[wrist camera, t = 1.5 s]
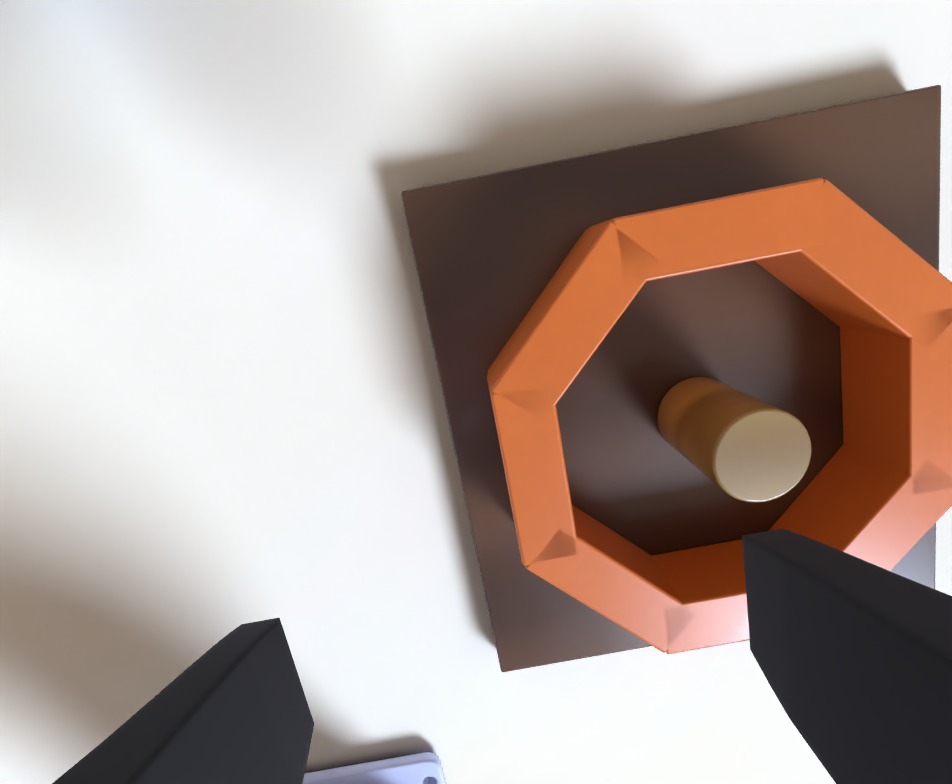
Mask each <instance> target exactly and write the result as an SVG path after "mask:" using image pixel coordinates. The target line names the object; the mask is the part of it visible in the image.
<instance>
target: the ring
mask: <svg viewBox="0 0 952 784" xmlns="http://www.w3.org/2000/svg"><path fill="white" fill-rule="evenodd" d="M749 261H755V262H756V263H758V264H759V265H760V266H762V267H763V268H764V269H765V270H767V271H768V272H769V273H771V274H772V275H773V276H774V277H776V278H777V279H778V280H780V281H781V282H782V283H784V284H785V285H786V286H787V287H789V288H790V289H791V290H793V291H794V292H795V293H796V294H798V295H799V296H800V297H802V298H803V299H804V300H806V301H807V302H808V303H809V304H811V305H812V306H813V307H815V308H816V309H817V310H818V311H820V312H821V313H822V314H824V315H825V316H826V317H827V318H829V319H830V320H831V321H833V322H834V323H835V324H837V325H838V326H839V327H840V347H841V379H842V412H843V445H842V447H841V448H840V449H839V450H838V451H837V452H836V453H835V455H834V456H833V457H832V458H831V459H830V460H829V462H828V463H827V464H826V465H825V466H824V467H823V468H822V470H821V471H820V472H819V473H818V474H817V475H816V477H815V478H814V479H813V480H812V481H811V482H810V483H809V485H808V486H807V487H806V488H805V489H804V490H803V492H802V493H801V494H800V495H799V496H798V497H797V498H796V500H795V501H794V502H793V503H792V504H791V505H790V507H789V508H788V509H787V510H786V511H785V512H784V513H783V515H782V516H781V517H780V518H779V519H778V520H777V521H776V523H775V524H774V525H773V526H772V527H771V528H770V530H769V531H771V530H777V529H786V530H789V531H791V532H794V533H797V534H800V535H803V536H805V537H808V538H811V539H813V540H816V541H818V542H821V543H823V544H826V545H828V546H831V547H833V548H835V549H838V550H840V551H843V552H845V553H848V554H850V555H852V556H855V557H857V558H860V559H862V560H864V561H867V562H869V563H872V564H874V565H876V566H879V567H881V568H884V569H886V570H888V571H891V570H892V569H893V568H894V566H895V565H896V564H897V563H898V562H899V561H900V560H901V559H902V558H903V557H904V556H905V555H906V554H907V553H908V552H909V550H910V549H911V548H912V547H913V546H914V545H915V544H916V543H917V542H918V541H919V540H920V539H921V538H922V537H923V536H924V534H925V533H926V532H927V531H928V530H929V529H930V528H931V527H932V526H933V525H934V524H935V523H936V522H937V521H938V520H939V518H940V517H941V516H942V515H943V514H944V513H945V512H946V511H947V510H948V509H949V508H950V507H951V506H952V282H951V281H949V280H948V279H947V278H946V277H944V276H943V275H942V274H941V273H940V272H938V271H937V270H936V269H935V268H934V267H932V266H931V265H930V264H929V263H927V262H926V261H925V260H924V259H923V258H921V257H920V256H919V255H918V254H917V253H915V252H914V251H913V250H912V249H910V248H909V247H908V246H907V245H906V244H904V243H903V242H902V241H901V240H900V239H898V238H897V237H896V236H895V235H894V234H892V233H891V232H890V231H889V230H887V229H886V228H885V227H884V226H883V225H881V224H880V223H879V222H878V221H877V220H875V219H874V218H873V217H872V216H870V215H869V214H868V213H867V212H866V211H864V210H863V209H862V208H861V207H860V206H858V205H857V204H856V203H855V202H854V201H852V200H851V199H850V198H849V197H847V196H846V195H845V194H844V193H843V192H841V191H840V190H839V189H838V188H837V187H835V186H834V185H833V184H832V183H830V182H829V181H828V180H826V179H824V180H823V179H822V178H817V179H812V180H807V181H802V182H797V183H791V184H786V185H781V186H776V187H771V188H766V189H761V190H756V191H751V192H746V193H740V194H735V195H730V196H725V197H720V198H715V199H710V200H705V201H700V202H694V203H689V204H684V205H679V206H674V207H669V208H664V209H659V210H654V211H648V212H643V213H638V214H633V215H628V216H623V217H618V218H614V219H611V220H608V221H605V222H602V223H599V224H596V225H593V226H590V227H589V228H588V229H586V230H585V231H584V233H583V234H582V235H581V237H580V238H579V240H578V241H577V243H576V244H575V245H574V247H573V248H572V250H571V251H570V253H569V254H568V256H567V257H566V258H565V260H564V261H563V263H562V264H561V266H560V267H559V268H558V270H557V271H556V273H555V274H554V276H553V277H552V279H551V280H550V281H549V283H548V284H547V286H546V287H545V289H544V290H543V292H542V293H541V294H540V296H539V297H538V299H537V300H536V302H535V303H534V304H533V306H532V307H531V309H530V310H529V312H528V313H527V315H526V316H525V317H524V319H523V320H522V322H521V323H520V325H519V326H518V327H517V329H516V330H515V332H514V333H513V335H512V336H511V338H510V339H509V340H508V342H507V343H506V345H505V346H504V348H503V349H502V350H501V352H500V353H499V355H498V356H497V358H496V359H495V361H494V362H493V363H492V365H491V366H490V368H489V369H488V374H487V381H488V386H489V392H490V397H491V402H492V408H493V413H494V418H495V424H496V429H497V434H498V439H499V445H500V450H501V455H502V461H503V466H504V471H505V476H506V482H507V487H508V492H509V498H510V503H511V508H512V514H513V519H514V524H515V529H516V534H517V540H518V545H519V550H520V555H521V560H522V563H523V565H525V567H526V569H528V570H529V571H531V572H532V573H534V574H536V575H537V576H539V577H541V578H542V579H544V580H546V581H547V582H549V583H550V584H552V585H554V586H555V587H557V588H559V589H560V590H562V591H564V592H565V593H567V594H568V595H570V596H572V597H573V598H575V599H577V600H578V601H580V602H582V603H583V604H585V605H587V606H588V607H590V608H591V609H593V610H595V611H596V612H598V613H600V614H601V615H603V616H605V617H606V618H608V619H609V620H611V621H613V622H614V623H616V624H618V625H619V626H621V627H623V628H624V629H626V630H627V631H629V632H631V633H632V634H634V635H636V636H637V637H639V638H641V639H642V640H644V641H645V642H647V643H649V644H650V645H652V646H654V647H655V648H657V649H659V650H660V651H662V652H666V653H667V654H672V653H677V652H683V651H689V650H694V649H700V648H706V647H711V646H717V645H723V644H728V643H734V642H740V641H745V640H750V637H749V624H748V610H747V596H746V583H745V569H744V556H743V542H742V539H740V540H734V541H729V542H723V543H718V544H712V545H707V546H701V547H696V548H690V549H685V550H679V551H674V552H668V553H663V554H657V555H650V554H648V553H647V552H645V551H644V550H642V549H641V548H639V547H637V546H636V545H634V544H633V543H631V542H630V541H628V540H627V539H625V538H623V537H622V536H620V535H619V534H617V533H616V532H614V531H613V530H611V529H609V528H608V527H606V526H605V525H603V524H602V523H600V522H599V521H597V520H595V519H594V518H592V517H591V516H589V515H588V514H586V513H584V512H583V511H581V510H580V509H578V508H577V507H575V506H574V505H572V503H571V497H570V490H569V484H568V478H567V472H566V465H565V459H564V453H563V447H562V440H561V434H560V428H559V422H558V415H557V409H556V404H557V402H558V401H559V399H560V398H561V397H562V395H563V394H564V393H565V391H566V390H567V389H568V387H569V386H570V385H571V383H572V382H573V380H574V379H575V378H576V376H577V375H578V374H579V372H580V371H581V370H582V368H583V367H584V365H585V364H586V363H587V361H588V360H589V359H590V357H591V356H592V355H593V353H594V352H595V350H596V349H597V348H598V346H599V345H600V344H601V342H602V341H603V340H604V338H605V337H606V335H607V334H608V333H609V331H610V330H611V329H612V327H613V326H614V325H615V323H616V322H617V320H618V319H619V318H620V316H621V315H622V314H623V312H624V311H625V310H626V308H627V307H628V305H629V304H630V303H631V301H632V300H633V299H634V297H635V296H636V295H637V293H638V292H639V290H640V289H641V288H642V286H643V285H644V284H645V282H646V281H651V280H656V279H661V278H666V277H672V276H677V275H682V274H687V273H692V272H698V271H703V270H708V269H713V268H718V267H723V266H729V265H734V264H739V263H744V262H749Z"/></svg>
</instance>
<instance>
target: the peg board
mask: <svg viewBox="0 0 952 784" xmlns="http://www.w3.org/2000/svg"><path fill="white" fill-rule="evenodd" d="M940 128H941V86H940V85H935V86H930V87H925V88H920V89H915V90H910V91H905V92H900V93H895V94H890V95H885V96H880V97H875V98H870V99H865V100H860V101H855V102H850V103H845V104H840V105H835V106H830V107H825V108H820V109H815V110H810V111H805V112H800V113H794V114H789V115H784V116H779V117H774V118H769V119H764V120H759V121H754V122H749V123H744V124H739V125H734V126H729V127H724V128H719V129H714V130H709V131H704V132H699V133H694V134H689V135H684V136H679V137H674V138H669V139H664V140H659V141H654V142H649V143H644V144H639V145H634V146H628V147H623V148H618V149H613V150H608V151H603V152H598V153H593V154H588V155H583V156H578V157H573V158H568V159H563V160H558V161H553V162H548V163H543V164H538V165H533V166H528V167H523V168H518V169H513V170H508V171H503V172H498V173H493V174H488V175H483V176H478V177H473V178H468V179H462V180H457V181H452V182H447V183H442V184H437V185H432V186H427V187H422V188H417V189H412V190H407V191H403V192H401V196H402V201H403V206H404V210H405V215H406V220H407V225H408V230H409V234H410V239H411V244H412V249H413V253H414V258H415V263H416V268H417V272H418V277H419V282H420V287H421V291H422V296H423V301H424V306H425V311H426V315H427V320H428V325H429V330H430V334H431V339H432V344H433V349H434V353H435V358H436V363H437V368H438V373H439V377H440V382H441V387H442V392H443V396H444V401H445V406H446V411H447V415H448V420H449V425H450V430H451V434H452V439H453V444H454V449H455V454H456V458H457V463H458V468H459V473H460V477H461V482H462V487H463V492H464V496H465V501H466V506H467V511H468V515H469V520H470V525H471V530H472V535H473V539H474V544H475V549H476V554H477V558H478V563H479V568H480V573H481V577H482V582H483V587H484V592H485V596H486V601H487V606H488V611H489V616H490V620H491V625H492V630H493V635H494V639H495V644H496V649H497V654H498V658H499V663H500V668H501V671H502V672H507V671H513V670H518V669H524V668H530V667H535V666H541V665H547V664H552V663H558V662H564V661H569V660H575V659H581V658H586V657H592V656H598V655H603V654H609V653H615V652H620V651H626V650H631V649H637V648H643V647H648V646H652V645H650V644H649V643H647V642H645V641H644V640H642V639H641V638H639V637H637V636H636V635H634V634H632V633H631V632H629V631H627V630H626V629H624V628H623V627H621V626H619V625H618V624H616V623H614V622H613V621H611V620H609V619H608V618H606V617H605V616H603V615H601V614H600V613H598V612H596V611H595V610H593V609H591V608H590V607H588V606H587V605H585V604H583V603H582V602H580V601H578V600H577V599H575V598H573V597H572V596H570V595H568V594H567V593H565V592H564V591H562V590H560V589H559V588H557V587H555V586H554V585H552V584H550V583H549V582H547V581H546V580H544V579H542V578H541V577H539V576H537V575H536V574H534V573H532V572H531V571H529V570H528V569H526V567H525V565H523V563H522V560H521V555H520V550H519V545H518V540H517V534H516V529H515V524H514V519H513V514H512V508H511V503H510V498H509V492H508V487H507V482H506V476H505V471H504V466H503V461H502V455H501V450H500V445H499V439H498V434H497V429H496V424H495V418H494V413H493V408H492V402H491V397H490V392H489V386H488V381H487V374H488V369H489V368H490V366H491V365H492V363H493V362H494V361H495V359H496V358H497V356H498V355H499V353H500V352H501V350H502V349H503V348H504V346H505V345H506V343H507V342H508V340H509V339H510V338H511V336H512V335H513V333H514V332H515V330H516V329H517V327H518V326H519V325H520V323H521V322H522V320H523V319H524V317H525V316H526V315H527V313H528V312H529V310H530V309H531V307H532V306H533V304H534V303H535V302H536V300H537V299H538V297H539V296H540V294H541V293H542V292H543V290H544V289H545V287H546V286H547V284H548V283H549V281H550V280H551V279H552V277H553V276H554V274H555V273H556V271H557V270H558V268H559V267H560V266H561V264H562V263H563V261H564V260H565V258H566V257H567V256H568V254H569V253H570V251H571V250H572V248H573V247H574V245H575V244H576V243H577V241H578V240H579V238H580V237H581V235H582V234H583V233H584V231H585V230H586V229H588V228H589V227H590V226H593V225H596V224H599V223H602V222H605V221H608V220H611V219H614V218H618V217H623V216H628V215H633V214H638V213H643V212H648V211H654V210H659V209H664V208H669V207H674V206H679V205H684V204H689V203H694V202H700V201H705V200H710V199H715V198H720V197H725V196H730V195H735V194H740V193H746V192H751V191H756V190H761V189H766V188H771V187H776V186H781V185H786V184H791V183H797V182H802V181H807V180H812V179H817V178H822V179H823V180H824V179H826V180H828V181H829V182H830V183H832V184H833V185H834V186H835V187H837V188H838V189H839V190H840V191H841V192H843V193H844V194H845V195H846V196H847V197H849V198H850V199H851V200H852V201H854V202H855V203H856V204H857V205H858V206H860V207H861V208H862V209H863V210H864V211H866V212H867V213H868V214H869V215H870V216H872V217H873V218H874V219H875V220H877V221H878V222H879V223H880V224H881V225H883V226H884V227H885V228H886V229H887V230H889V231H890V232H891V233H892V234H894V235H895V236H896V237H897V238H898V239H900V240H901V241H902V242H903V243H904V244H906V245H907V246H908V247H909V248H910V249H912V250H913V251H914V252H915V253H917V254H918V255H919V256H920V257H921V258H923V259H924V260H925V261H926V262H927V263H929V264H930V265H931V266H932V267H934V268H935V269H936V270H937V271H938V272H939V211H940ZM556 409H557V415H558V422H559V428H560V434H561V440H562V447H563V453H564V459H565V465H566V472H567V478H568V484H569V490H570V497H571V503H572V505H574V506H575V507H577V508H578V509H580V510H581V511H583V512H584V513H586V514H588V515H589V516H591V517H592V518H594V519H595V520H597V521H599V522H600V523H602V524H603V525H605V526H606V527H608V528H609V529H611V530H613V531H614V532H616V533H617V534H619V535H620V536H622V537H623V538H625V539H627V540H628V541H630V542H631V543H633V544H634V545H636V546H637V547H639V548H641V549H642V550H644V551H645V552H647V553H648V554H650V555H657V554H663V553H668V552H674V551H679V550H685V549H690V548H696V547H701V546H707V545H712V544H718V543H723V542H729V541H734V540H740V539H742V536H743V535H749V534H754V533H760V532H766V531H769V530H770V528H771V527H772V526H773V525H774V524H775V523H776V521H777V520H778V519H779V518H780V517H781V516H782V515H783V513H784V512H785V511H786V510H787V509H788V508H789V507H790V505H791V504H792V503H793V502H794V501H795V500H796V498H797V497H798V496H799V495H800V494H801V493H802V492H803V490H804V489H805V488H806V487H807V486H808V485H809V483H810V482H811V481H812V480H813V479H814V478H815V477H816V475H817V474H818V473H819V472H820V471H821V470H822V468H823V467H824V466H825V465H826V464H827V463H828V462H829V460H830V459H831V458H832V457H833V456H834V455H835V453H836V452H837V451H838V450H839V449H840V448H841V447H842V445H843V412H842V379H841V347H840V327H839V326H838V325H837V324H835V323H834V322H833V321H831V320H830V319H829V318H827V317H826V316H825V315H824V314H822V313H821V312H820V311H818V310H817V309H816V308H815V307H813V306H812V305H811V304H809V303H808V302H807V301H806V300H804V299H803V298H802V297H800V296H799V295H798V294H796V293H795V292H794V291H793V290H791V289H790V288H789V287H787V286H786V285H785V284H784V283H782V282H781V281H780V280H778V279H777V278H776V277H774V276H773V275H772V274H771V273H769V272H768V271H767V270H765V269H764V268H763V267H762V266H760V265H759V264H758V263H756V262H755V261H749V262H744V263H739V264H734V265H729V266H723V267H718V268H713V269H708V270H703V271H698V272H692V273H687V274H682V275H677V276H672V277H666V278H661V279H656V280H651V281H646V282H645V284H644V285H643V286H642V288H641V289H640V290H639V292H638V293H637V295H636V296H635V297H634V299H633V300H632V301H631V303H630V304H629V305H628V307H627V308H626V310H625V311H624V312H623V314H622V315H621V316H620V318H619V319H618V320H617V322H616V323H615V325H614V326H613V327H612V329H611V330H610V331H609V333H608V334H607V335H606V337H605V338H604V340H603V341H602V342H601V344H600V345H599V346H598V348H597V349H596V350H595V352H594V353H593V355H592V356H591V357H590V359H589V360H588V361H587V363H586V364H585V365H584V367H583V368H582V370H581V371H580V372H579V374H578V375H577V376H576V378H575V379H574V380H573V382H572V383H571V385H570V386H569V387H568V389H567V390H566V391H565V393H564V394H563V395H562V397H561V398H560V399H559V401H558V402H557V404H556ZM935 543H936V523H935V524H934V525H933V526H932V527H931V528H930V529H929V530H928V531H927V532H926V533H925V534H924V536H923V537H922V538H921V539H920V540H919V541H918V542H917V543H916V544H915V545H914V546H913V547H912V548H911V549H910V550H909V552H908V553H907V554H906V555H905V556H904V557H903V558H902V559H901V560H900V561H899V562H898V563H897V564H896V565H895V566H894V568H893V569H892V570H891V572H893V573H896V574H898V575H900V576H903V577H905V578H908V579H910V580H913V581H915V582H918V583H920V584H922V585H925V586H927V587H930V588H932V589H935Z"/></svg>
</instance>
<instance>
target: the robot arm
mask: <svg viewBox="0 0 952 784" xmlns="http://www.w3.org/2000/svg"><path fill="white" fill-rule="evenodd" d="M742 542H743V556H744V569H745V583H746V596H747V610H748V624H749V637H750V649H751V651H752V653H753V655H754V657H755V658H756V660H757V662H758V664H759V666H760V668H761V669H762V671H763V673H764V675H765V677H766V678H767V680H768V682H769V684H770V686H771V687H772V689H773V691H774V692H775V694H776V696H777V698H778V699H779V701H780V703H781V704H782V706H783V708H784V710H785V711H786V713H787V715H788V716H789V718H790V719H791V721H792V722H793V724H794V725H795V726H796V728H797V729H798V731H799V732H800V734H801V735H802V736H803V738H804V739H805V741H806V742H807V743H808V745H809V746H810V748H811V749H812V750H813V752H814V753H815V755H816V756H817V757H818V759H819V760H820V762H821V763H822V764H823V766H824V767H825V769H826V770H827V771H828V773H829V774H830V775H831V777H832V778H833V780H834V781H835V782H836V784H952V596H950V595H947V594H945V593H942V592H940V591H937V590H935V589H932V588H930V587H927V586H925V585H922V584H920V583H918V582H915V581H913V580H910V579H908V578H905V577H903V576H900V575H898V574H896V573H893V572H891V571H888V570H886V569H884V568H881V567H879V566H876V565H874V564H872V563H869V562H867V561H864V560H862V559H860V558H857V557H855V556H852V555H850V554H848V553H845V552H843V551H840V550H838V549H835V548H833V547H831V546H828V545H826V544H823V543H821V542H818V541H816V540H813V539H811V538H808V537H805V536H803V535H800V534H797V533H794V532H791V531H789V530H786V529H777V530H771V531H766V532H760V533H754V534H749V535H743V536H742ZM313 727H314V722H313V719H312V716H311V713H310V710H309V707H308V704H307V701H306V698H305V695H304V691H303V688H302V685H301V682H300V679H299V676H298V673H297V670H296V667H295V664H294V661H293V658H292V655H291V652H290V649H289V646H288V643H287V640H286V637H285V634H284V630H283V627H282V624H281V621H280V618H275V619H269V620H264V621H258V622H253V623H247V624H242V625H240V626H239V627H237V628H236V629H235V630H233V631H232V632H231V633H229V634H228V635H227V636H226V637H224V638H223V639H222V640H220V641H219V642H218V643H217V644H216V645H214V646H213V647H212V648H211V649H210V650H208V651H207V652H206V653H205V654H204V655H203V656H201V657H200V658H199V659H198V660H197V661H196V662H194V663H193V664H192V665H191V666H190V667H189V668H187V669H186V670H185V671H184V672H183V673H182V674H181V675H179V676H178V677H177V678H176V679H175V680H174V681H173V682H171V683H170V684H169V685H168V686H167V687H166V688H164V689H163V690H162V691H161V692H160V693H159V694H158V695H156V696H155V697H154V698H153V699H152V700H151V701H149V702H148V703H147V704H146V705H145V706H144V707H143V708H141V709H140V710H139V711H138V712H137V713H136V714H135V715H133V716H132V717H131V718H130V719H129V720H128V721H126V722H125V723H124V724H123V725H122V726H121V727H120V728H118V729H117V730H116V731H115V732H114V733H113V734H111V735H110V736H109V737H108V738H107V739H106V740H104V741H103V742H102V743H101V744H100V745H98V746H97V747H96V748H95V749H94V750H92V751H91V752H90V753H89V754H88V755H86V756H85V757H84V758H83V759H81V760H80V761H79V762H78V763H77V764H75V765H74V766H73V767H72V768H71V769H69V770H68V771H67V772H66V773H65V774H63V775H62V776H61V777H60V778H58V779H57V780H56V781H55V782H54V783H52V784H446V780H445V776H444V772H443V768H442V764H441V761H440V759H439V757H438V756H437V755H436V754H434V753H431V752H425V753H419V754H413V755H407V756H402V757H396V758H390V759H384V760H379V761H373V762H367V763H361V764H356V765H350V766H344V767H339V768H333V769H327V770H321V771H316V772H310V773H305V769H306V764H307V759H308V754H309V748H310V743H311V737H312V732H313ZM428 777H433V778H428Z"/></svg>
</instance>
